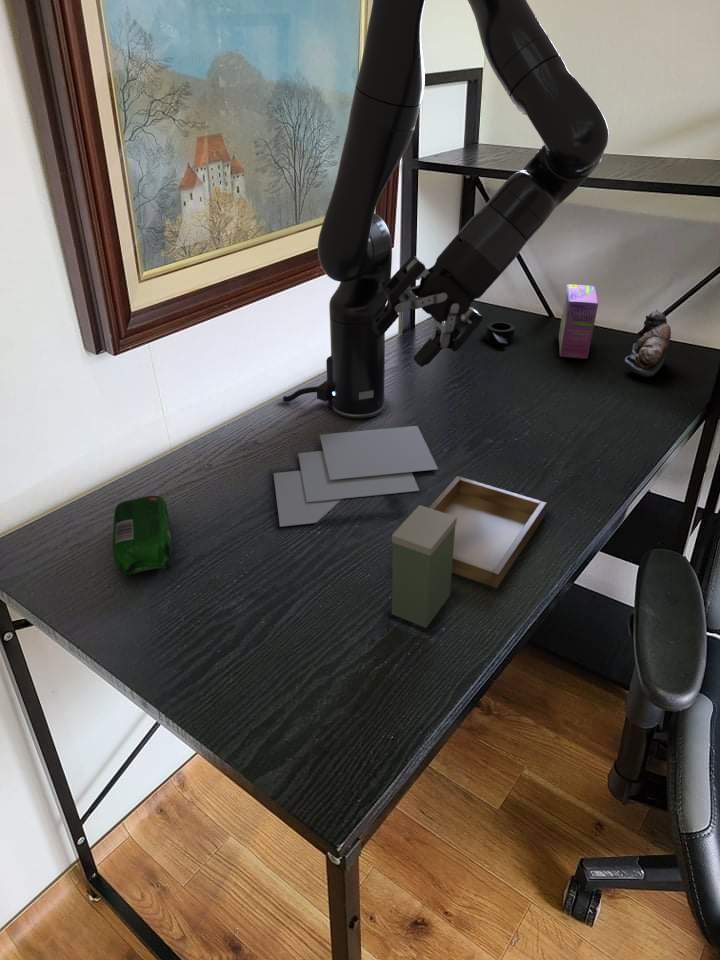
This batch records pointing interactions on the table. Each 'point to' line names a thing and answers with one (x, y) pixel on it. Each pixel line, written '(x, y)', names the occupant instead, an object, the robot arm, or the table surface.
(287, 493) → the paper stack
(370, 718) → the table surface
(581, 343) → the box
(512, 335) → the duct tape
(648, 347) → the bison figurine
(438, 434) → the table surface
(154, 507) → the snack package
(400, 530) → the green lidded canister
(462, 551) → the desk tray
